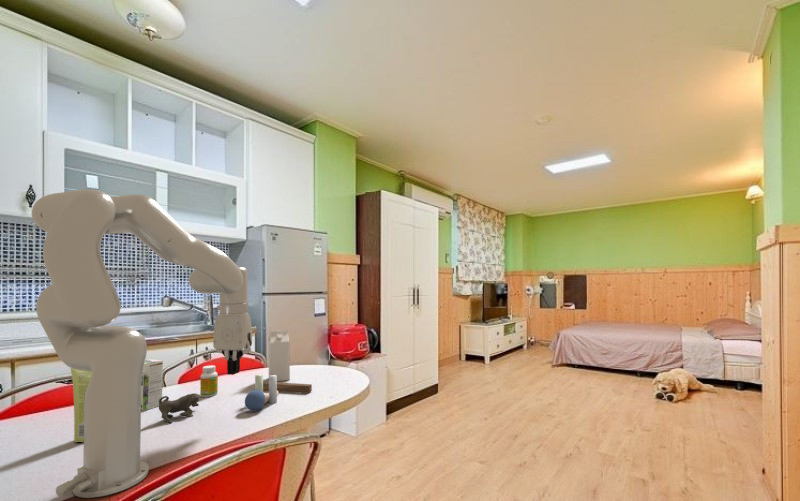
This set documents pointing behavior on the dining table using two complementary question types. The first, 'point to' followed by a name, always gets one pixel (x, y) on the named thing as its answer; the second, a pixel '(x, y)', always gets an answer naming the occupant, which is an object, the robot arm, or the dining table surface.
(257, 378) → the back pin left
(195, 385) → the dining table surface
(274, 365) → the milk carton
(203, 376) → the supplement bottle
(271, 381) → the back pin right
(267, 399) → the front pin
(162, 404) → the dog figurine
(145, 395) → the syrup box
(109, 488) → the robot arm
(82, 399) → the tube
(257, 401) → the ball
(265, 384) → the brown bar
